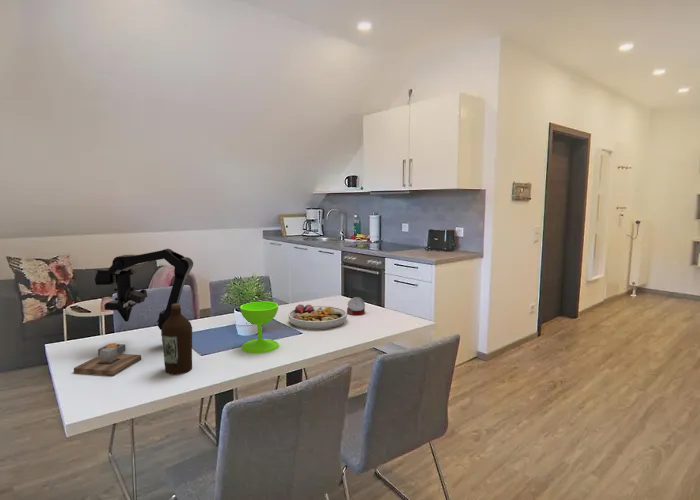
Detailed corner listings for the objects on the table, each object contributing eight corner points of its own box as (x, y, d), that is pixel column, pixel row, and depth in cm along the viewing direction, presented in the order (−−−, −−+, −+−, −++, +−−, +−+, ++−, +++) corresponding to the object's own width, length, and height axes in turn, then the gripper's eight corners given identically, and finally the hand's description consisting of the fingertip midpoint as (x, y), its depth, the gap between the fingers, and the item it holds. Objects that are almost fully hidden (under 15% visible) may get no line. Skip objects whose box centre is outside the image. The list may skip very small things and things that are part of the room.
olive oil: (178, 362, 167) (175, 299, 164) (200, 366, 163) (197, 302, 160) (156, 373, 157) (153, 306, 154) (179, 377, 154) (176, 309, 151)
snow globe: (364, 320, 242) (372, 306, 239) (354, 322, 234) (363, 307, 231) (349, 308, 247) (357, 294, 244) (339, 310, 239) (347, 295, 236)
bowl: (357, 320, 227) (357, 305, 226) (324, 335, 202) (324, 319, 201) (312, 312, 243) (312, 298, 242) (276, 325, 218) (276, 310, 217)
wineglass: (233, 350, 181) (232, 308, 179) (254, 338, 196) (253, 300, 194) (266, 355, 175) (265, 312, 173) (285, 342, 190) (285, 303, 188)
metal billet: (117, 363, 165) (116, 347, 165) (110, 367, 161) (109, 351, 161) (108, 362, 166) (107, 347, 165) (100, 366, 162) (99, 351, 161)
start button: (119, 349, 178) (119, 343, 178) (113, 353, 174) (112, 346, 174) (111, 349, 179) (110, 342, 178) (104, 352, 175) (104, 345, 175)
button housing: (125, 351, 180) (125, 344, 179) (114, 357, 173) (113, 350, 172) (110, 350, 181) (110, 343, 180) (98, 356, 174) (97, 349, 173)
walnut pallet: (141, 359, 170) (141, 354, 170) (113, 376, 155) (113, 370, 154) (105, 357, 173) (104, 352, 173) (74, 373, 157) (73, 368, 157)
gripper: (127, 290, 171) (130, 328, 172) (154, 281, 189) (156, 315, 191) (101, 289, 172) (104, 327, 174) (131, 280, 190) (133, 315, 192)
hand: (126, 321), depth 183 cm, fingers closed
